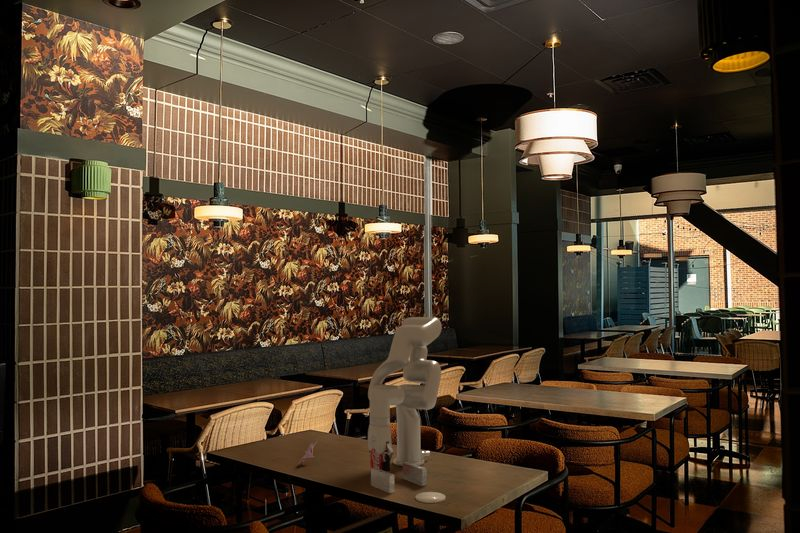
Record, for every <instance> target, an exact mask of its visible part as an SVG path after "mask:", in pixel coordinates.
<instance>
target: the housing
mask: <svg viewBox="0 0 800 533" xmlns="http://www.w3.org/2000/svg"><path fill="white" fill-rule="evenodd" d="M427 472H428V471H427V468H426V467H424V466H422V465H419V466H418V465H416V464H413V463H410V462H403V466H402V479H403V480H404V481H408V482H410V483H413V484H416V485H418V486H420V487H426V486H428V484H427V483H428V480H427V478H428V477H427V475H428V473H427ZM370 486H371V487H373V488H376V489H378V490H381V491H382V492H386V493H388V494H394V493H395V474H393V473H391V472H390V473H388V472H386V471H383V470H381V469H378V468H371V467H370Z"/></svg>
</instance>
